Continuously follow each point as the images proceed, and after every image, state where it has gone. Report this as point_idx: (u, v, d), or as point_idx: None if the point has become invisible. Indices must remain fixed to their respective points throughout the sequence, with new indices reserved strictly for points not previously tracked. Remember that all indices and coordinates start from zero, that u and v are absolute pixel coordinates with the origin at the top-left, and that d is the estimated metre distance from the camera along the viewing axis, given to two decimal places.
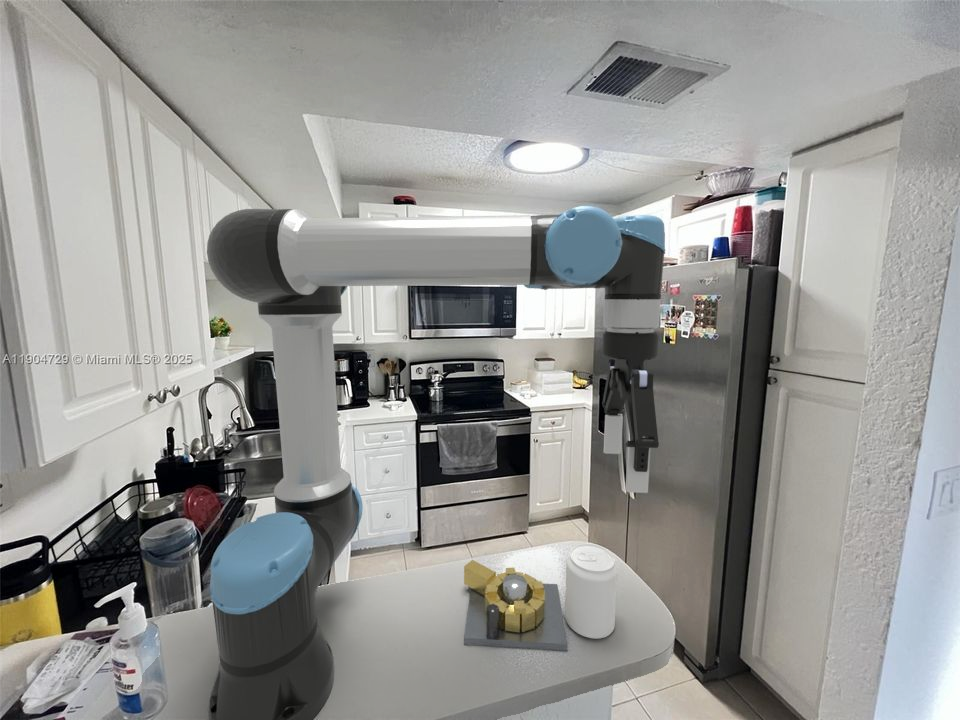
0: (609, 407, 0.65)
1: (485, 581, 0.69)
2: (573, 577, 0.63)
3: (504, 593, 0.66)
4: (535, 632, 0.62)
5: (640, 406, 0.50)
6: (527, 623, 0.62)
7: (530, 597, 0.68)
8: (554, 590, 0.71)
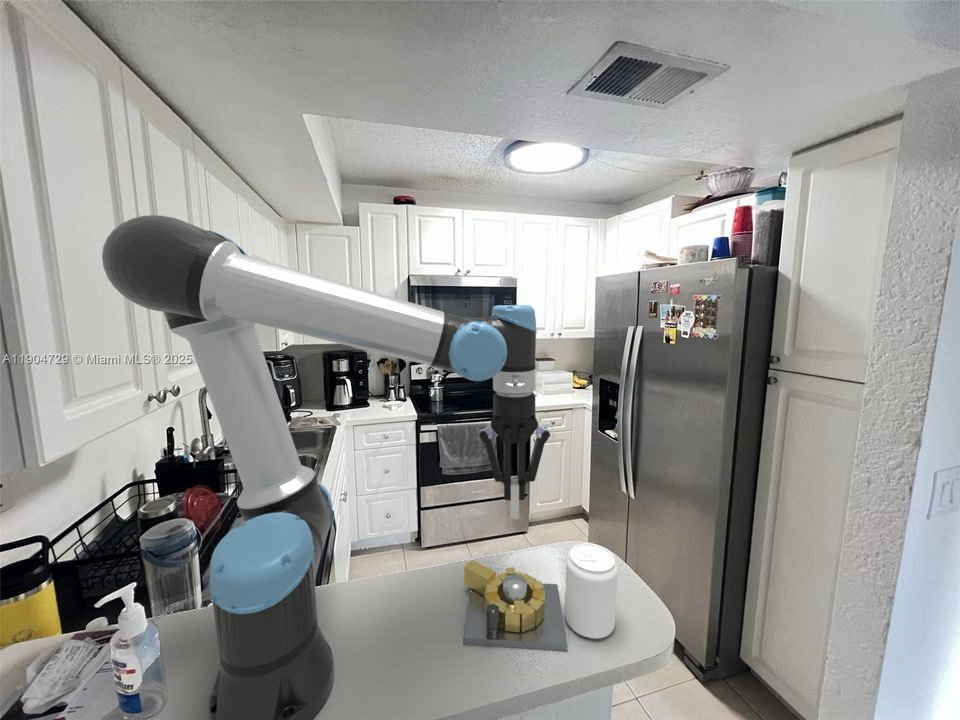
0: None
1: (485, 581, 0.69)
2: (573, 577, 0.63)
3: (504, 593, 0.66)
4: (535, 632, 0.62)
5: None
6: (527, 623, 0.62)
7: (530, 597, 0.68)
8: (554, 590, 0.71)
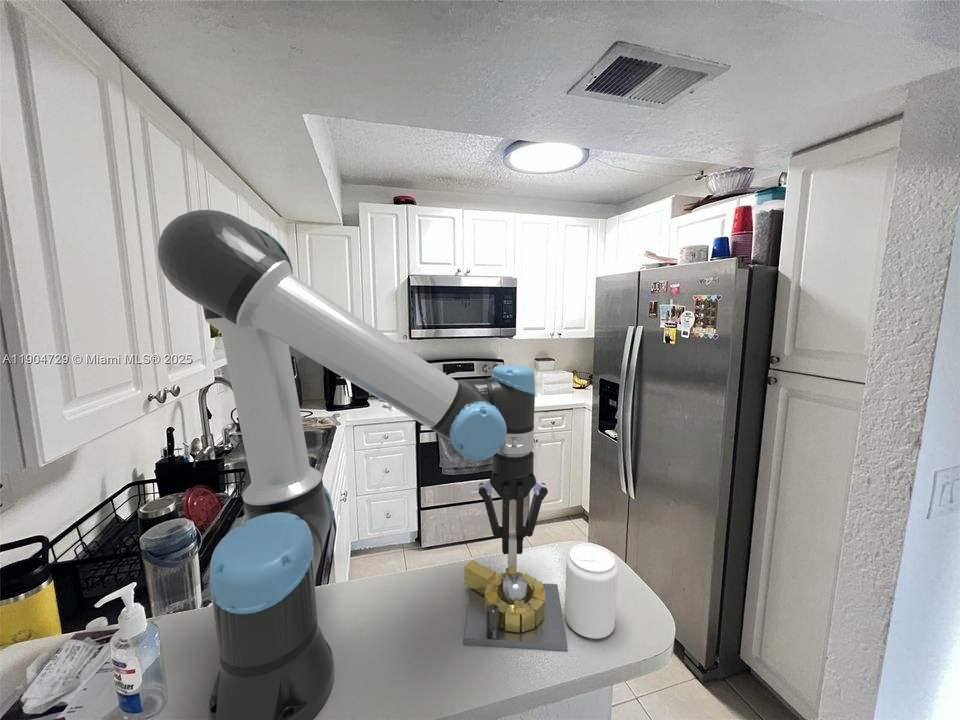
0: None
1: (485, 581, 0.69)
2: (573, 577, 0.63)
3: (504, 593, 0.66)
4: (535, 632, 0.62)
5: None
6: (527, 623, 0.62)
7: (530, 597, 0.68)
8: (554, 590, 0.71)
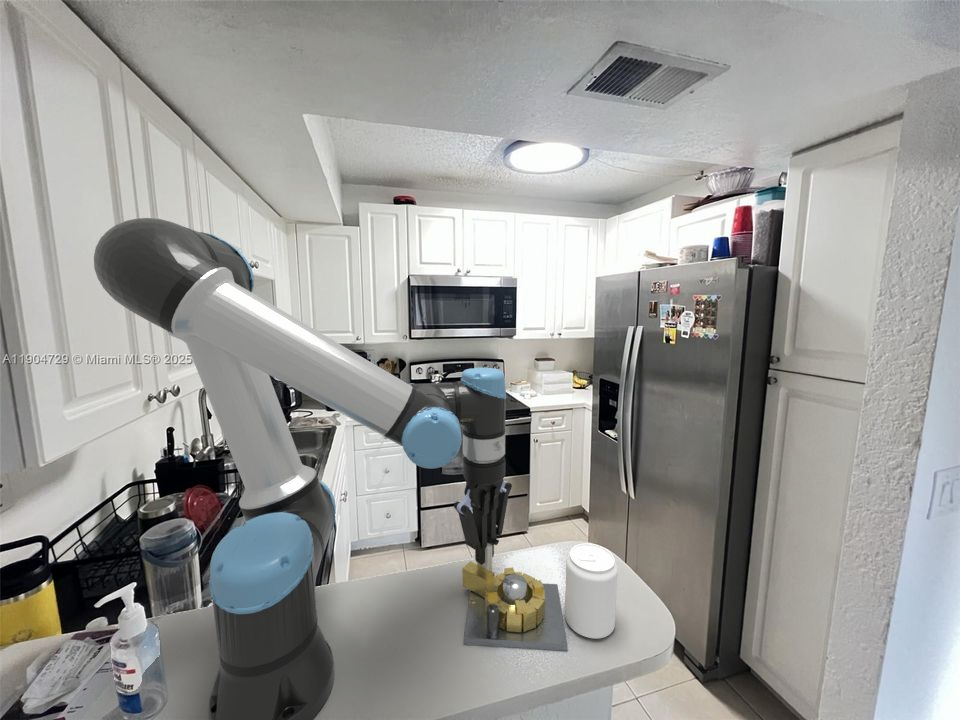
0: None
1: (484, 582, 0.69)
2: (573, 577, 0.63)
3: (504, 593, 0.66)
4: (535, 632, 0.62)
5: (463, 525, 0.68)
6: (529, 623, 0.63)
7: (530, 596, 0.68)
8: (554, 590, 0.71)
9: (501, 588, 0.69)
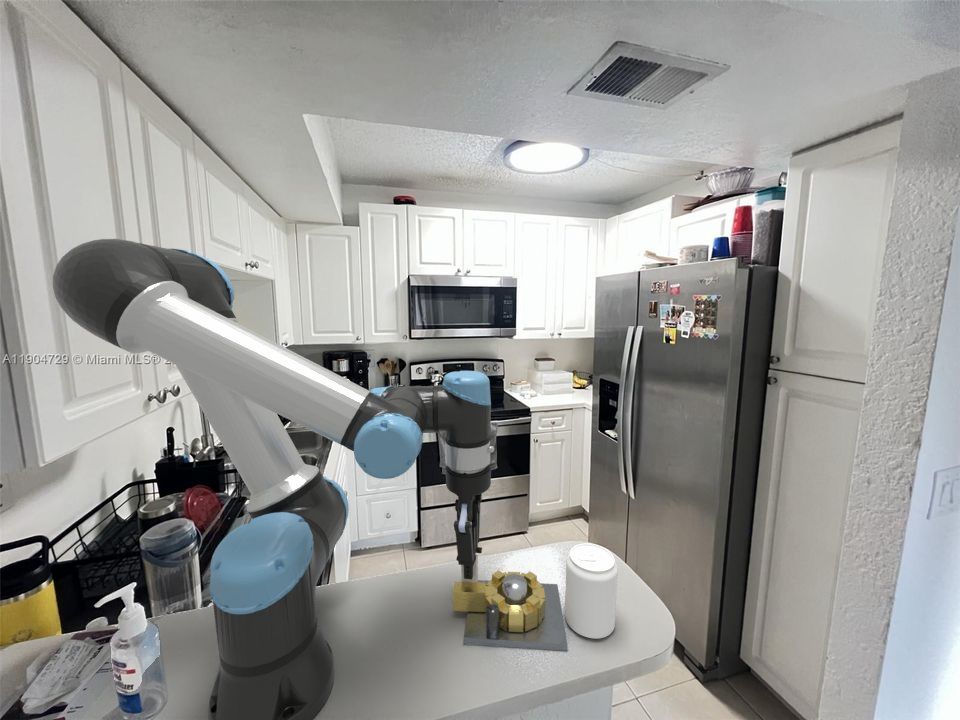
0: None
1: (482, 596, 0.66)
2: (573, 577, 0.63)
3: (504, 593, 0.66)
4: (535, 632, 0.62)
5: (460, 544, 0.63)
6: (541, 614, 0.64)
7: None
8: (554, 590, 0.71)
9: (497, 594, 0.68)
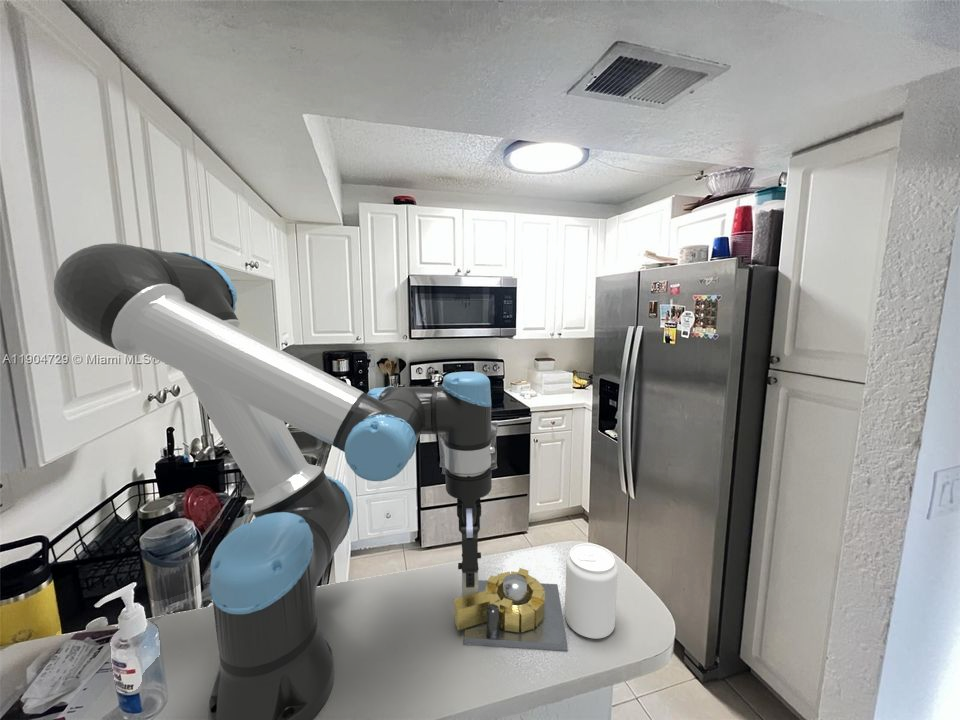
0: None
1: (486, 605, 0.64)
2: (573, 577, 0.63)
3: (504, 593, 0.66)
4: (535, 632, 0.62)
5: (466, 551, 0.61)
6: None
7: None
8: (554, 590, 0.71)
9: None
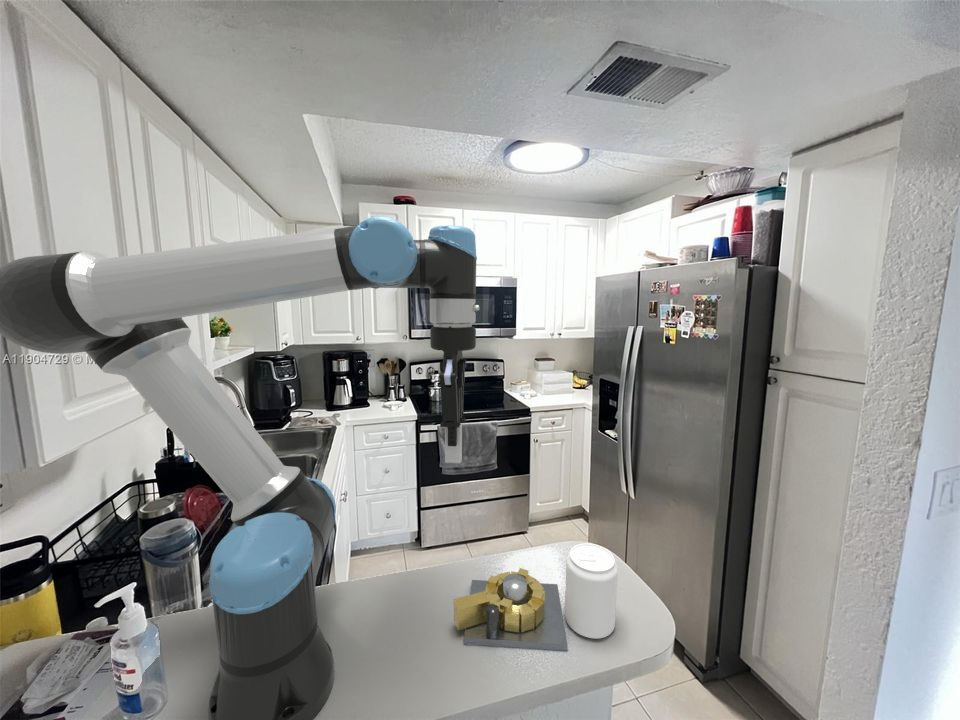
0: None
1: (486, 605, 0.64)
2: (573, 577, 0.63)
3: (504, 593, 0.66)
4: (535, 632, 0.62)
5: (445, 400, 0.62)
6: None
7: None
8: (554, 590, 0.71)
9: None
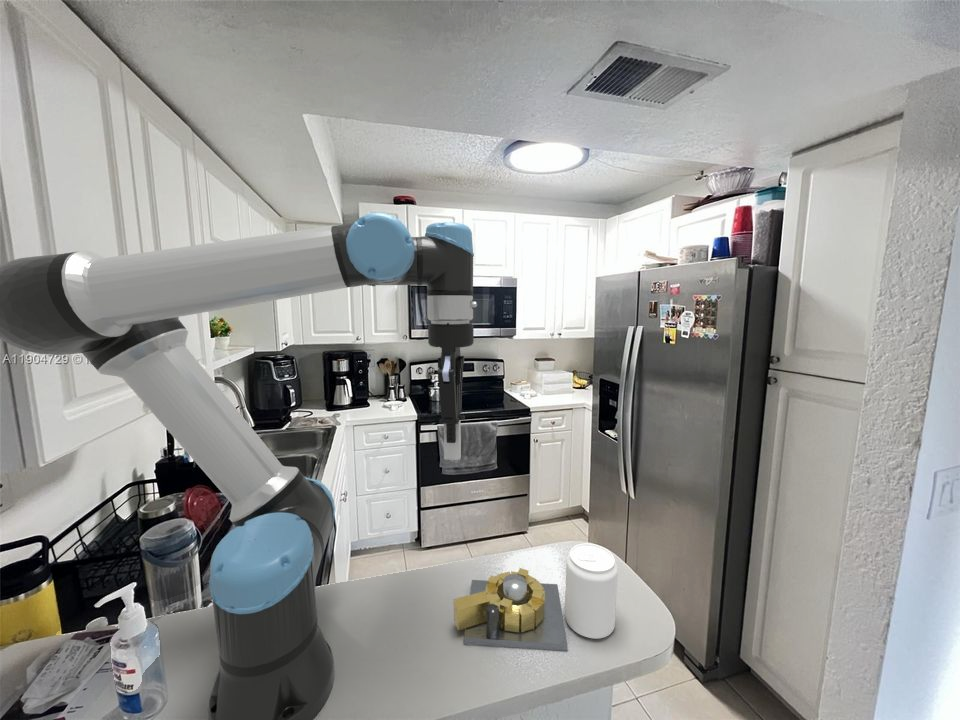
0: None
1: (486, 605, 0.64)
2: (573, 577, 0.63)
3: (504, 593, 0.66)
4: (535, 632, 0.62)
5: (443, 397, 0.62)
6: None
7: None
8: (554, 590, 0.71)
9: None
